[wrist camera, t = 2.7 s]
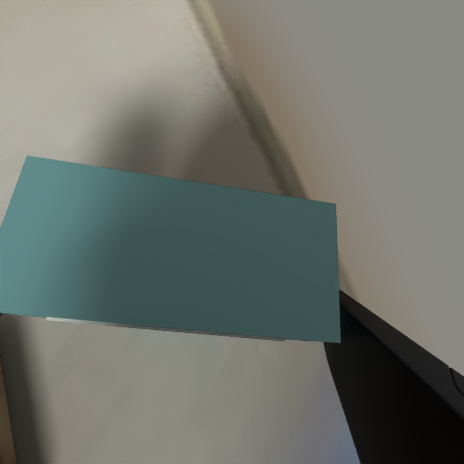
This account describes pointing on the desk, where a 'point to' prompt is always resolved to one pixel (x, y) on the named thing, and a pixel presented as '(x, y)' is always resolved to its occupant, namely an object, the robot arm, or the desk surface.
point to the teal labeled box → (168, 255)
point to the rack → (5, 428)
